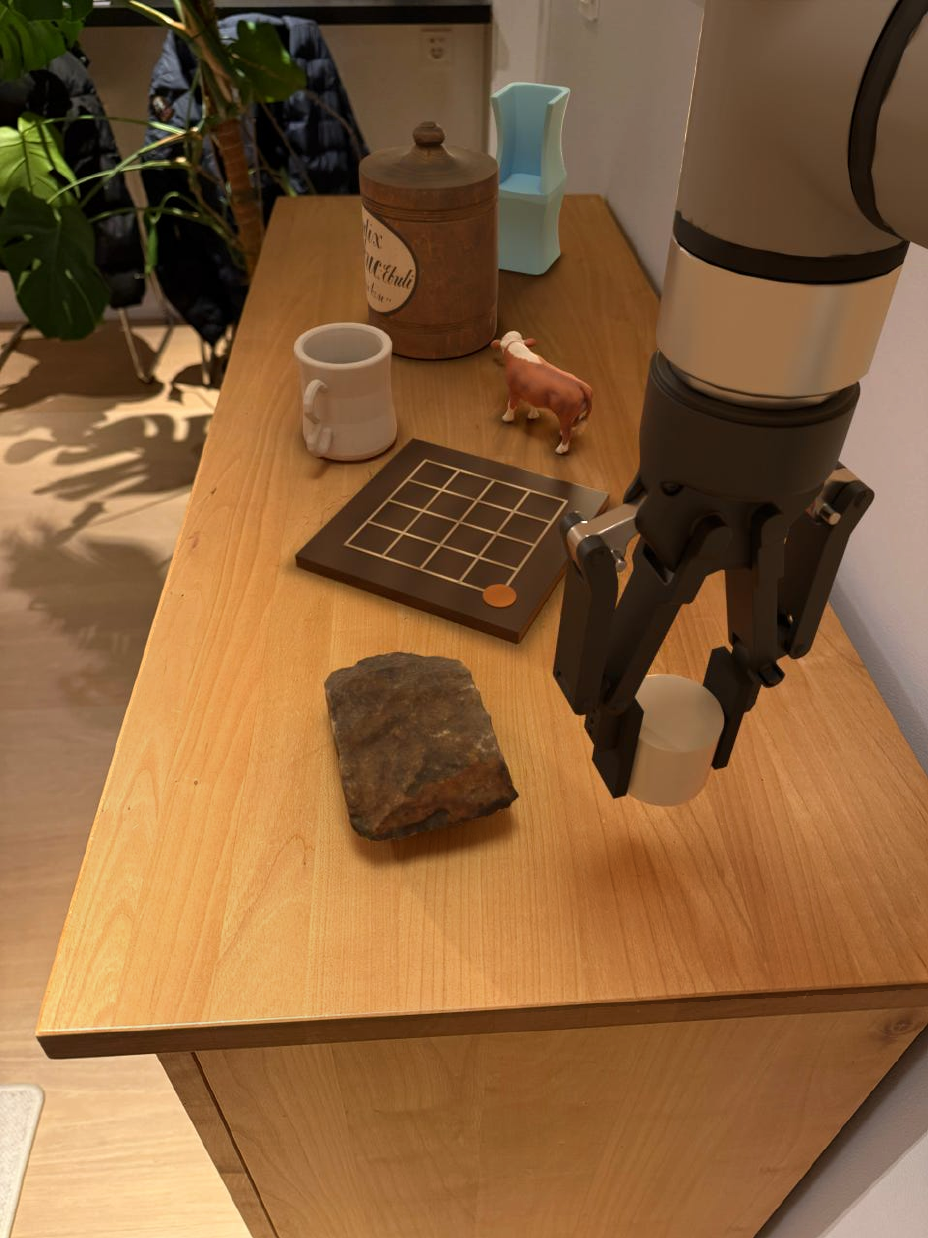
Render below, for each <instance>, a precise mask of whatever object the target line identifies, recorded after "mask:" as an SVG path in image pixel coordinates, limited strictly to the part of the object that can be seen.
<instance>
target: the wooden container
mask: <svg viewBox="0 0 928 1238" xmlns="http://www.w3.org/2000/svg"><path fill="white" fill-rule="evenodd" d="M446 137H447V134H446V130H445V129H444V127H443V126H441V125H440V124H438V123H437V122H436V121H434V120H424V121H423V120H422V121H421V122H419V124H418V125H417V126H415V127H414V128H413V130H412V138H413V141H414V144H411V145H401V146H395V147H389V148H384V149H381V150H378V151H374V152H372V153H370V154H368V155H367V156H365V157H364V158H363V159H362V160H360V162H359V165H358V179H359V180H358V181H359V193H360V200H361V209H362V210H361V214H362V215H361V216H362V231H363V233H362V234H363V251H364V252H363V253H364V257H363V258H364V276H365V288H366V300H367V311H368V325H369V326H373V327H376V328H378V329H380V330H382V331H383V332H385V333H386V334H387V335H388V336H389V337H390V339H391V341H392V354H396V355H399V356H404V357H407V358H408V357H409V358H414V359H420V360H421V359H422V360H443V359H451V358H456V357H462V356H466V355H469V354H471V353H472V354H473V353H474V352H477V351H479V350H481V349H483V348H484V347H486V346H487V345H489V344H491V343H492V342H493V340H494V338H495V337H496V336H495V335H496V333H497V325H498V324H497V323H498V297H499V295H498V294H499V269H498V197H499V166H498V162H497V161H496V160H495V159H496V158H494V157H493V156H492V155H491V154H489V153H487V152H484V151H481V150H478V149H474V148H469V147H464V146H458V145H448V144H443V143H444V142H445V140H446Z"/></svg>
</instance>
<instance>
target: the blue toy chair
mask: <svg viewBox="0 0 928 1238" xmlns="http://www.w3.org/2000/svg"><path fill="white" fill-rule="evenodd" d="M570 94H571V89H570V88H569V87H567V86H558V85H550V84H542V83H533V82H525V81H524V82H523V81H517V82H516V81H515V82H510V83H508V84H507V85H505V86H503V87H502V88H501V89H499V90H498V91H496V92H494V93H493V94H492V95H490V97H489V98H490V103H491V107H492V111H493V116H494V121H495V129H496V144H497V145H496V154H495V158H494V159H495V160H496V161H497V162H498V166H499V197H498V270H504V271H509V272H510V271H511V272H516V273H522V274H527V275H534V276H535V275H536V276H537V275H542V274H545V273H546V272H547V271H548V270H549V269H550V267H551V266H553V264H554V263H555V262H556V260H557V259H558V258H559V257H560V256H561V248H560V241H559V220H560V219H559V218H560V212H561V207H562V203H563V198H564V194H565V191H566V187H567V182H568V175H567V171H566V166H565V162H564V157H563V149H562V130H563V129H562V128H563V123H564V122H563V121H564V117H565V112H566V109H567V105H568V101H569V97H570Z"/></svg>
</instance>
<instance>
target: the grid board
mask: <svg viewBox="0 0 928 1238" xmlns="http://www.w3.org/2000/svg"><path fill="white" fill-rule="evenodd" d="M610 497H611V493H610V492H606V491H603V490H599V489H595V488H592V487H588V486H585V485H581V484H578V483H574V482H571V481H566V480H563V479H561V478H557V477H553V476H550V475H545V474H542V473H539V472H536V471H532V470H527V469H525V468H522V467H517V466H514V465H511V464H506V463H503V462H500V461H496V460H492V459H489V458H486V457H482V456H478V455H475V454H472V453H468V452H465V451H461V450H458V449H453V448H450V447H447V446H443V445H440V444H436V443H433V442H428V441H426V440H422V439H419V438H415V437H413V438H411V439H410V440H409V441H408V442H407V443H406V444H405V445H404V446H403V447H402V448H401V449H400V450H399V451H398V452H397V453H396V454H395V455H394V456H393V457H391V459H390V460H389V461H388V462H387V463H386V464H385V465H384V466H383V467H382V468H381V469H380V470H379V471H378V472H377V473H376V474H375V475H374V476H373V477H372V478H371V479H370V480H369V481H368V482H367V483H366V484H365V485H364V486H363V487H362V488H361V489H360V490H359V491H358V492H357V493H355V495H354V496H353V497H352V498H350V500H349V501H348V502H346V504H344V506H343V507H341V509H340V510H339V511H338V512H337V513H336V514H335V515H333V517H332V518H331V519H330V520H329V521H327V523H326V524H324V526H323V527H322V528H320V530H319V531H318V532H316V534H314V535H313V537H312V538H310V540H309V541H307V542H306V544H305V545H304V546H303V547H301V548H300V550H298V551H297V552H296V554H294V558H295V565H296V567H297V568H301V569H303V570H307V571H309V572H312V573H315V574H317V575H321V576H324V577H326V578H330V579H332V580H334V581H337V582H341V583H343V584H346V585H349V586H351V587H355V588H357V589H361V590H364V591H366V592H370V593H372V594H374V595H378V596H381V597H384V598H387V599H389V600H392V601H395V602H398V603H400V604H403V605H406V606H410V607H412V608H415V609H418V610H420V611H424V612H426V613H429V614H432V615H436V616H438V617H440V618H444V619H446V620H449V621H451V622H452V621H453V622H455V623H458V624H461V625H464V626H466V627H470V628H473V629H475V630H478V631H481V632H483V633H486V634H488V635H489V634H490V635H492V636H495V637H498V638H501V639H504V640H507V641H510V642H513V643H514V644H519V643H520V642H521V640H522V639H523V637H524V635H526V633H527V632H528V630H529V628H530V626H531V625H532V623H533V621H534V620H535V618H536V617H537V615H538V614H539V612H540V611H541V610H542V607H543V606H544V605H545V603H546V601H547V600H548V599H549V597H550V595H551V594H552V592H553V591H554V589H555V587H556V586H557V585H558V583H559V582H560V580H561V579H562V577H563V576H564V574H565V573H566V570H567V563H568V556H567V553H566V549H565V546H564V543H563V540H562V537H561V534H560V530H559V524H560V522H561V520H562V519H563V518H564V516H566V515H567V514H569V513H571V512H574V511H580V512H582V513H584V514H585V516H586V517H587V519H588V520H589V521H590V520H592V519H594V518H596V517H598V516H600V515H602V514H604V513H605V510H606V509H607V507H608V506H609V503H610V499H611V498H610Z"/></svg>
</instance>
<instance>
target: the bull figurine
mask: <svg viewBox="0 0 928 1238" xmlns="http://www.w3.org/2000/svg"><path fill="white" fill-rule="evenodd" d="M535 346H537V340H535V338H532V337H531V338H530V337H529V338H527V339H524V340H523V338H522V334H520V332H518V331H516V330H513V331H508V332H507V333H505V335H504V336H502V338H501V339H495V340H494V339H493V340H492V341H491V342H490V347H491V348H492V350H499V349H501V353H502V354H503V361H504V363H503V364H504V368H505V378H504V379H505V384H506V386H507V388H508V389H509V401H508V403H507V411H506V413H505V414H504V415H503V416H502V417H501V421H502V422H504V423H508V422H511V421H514V420H515V410H516V409H517V407H518V403H519V401H520V400H522V401H523V402H526V403H527V404H528V405H530V409H529V412H528V414H527V418H528V419H529V420H533V419H539V417H540V415H539V412H538V411H540V412H545V414H546V416H547V417H548V418H550V417H552V415H553V414H555V416H556V417H557V420H558V422H559V426H560V427H559V428H560V430H559V431H558V435H559V436H560V437H561V442H560V444H559V445H558V447H556V448H555V450H554V451H555V453H556V454H559V455H561V454H564V453H566V452H567V451H569V444H570V440H571V438H572V437H573V435H574V430H575V429H576V433H577V434H578V435H581V434H583V433H584V431H585V430H586V427H587V425H588V422H589V417H590V414H591V413H592V408H593V396H594V391H593V389H592V388H591V386H590V385H589V384H587V383H586V382H584V381H583V380H581V379H579V378H577V377H576V376H575V375H574V374H572V373H569V372H567V371H563V370H561V369H560V368H558V367H556V366H554V365H553V364H551V363H549V362H547V361H546V359H544V358H543V357H542V356H541V355H538V354H536V353H534V352H532V351H531V350H530V349H529V348H533V347H535ZM584 412H586V413H585V414H584V415H583V416H582V417H580V416H581V414H583V413H584Z"/></svg>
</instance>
